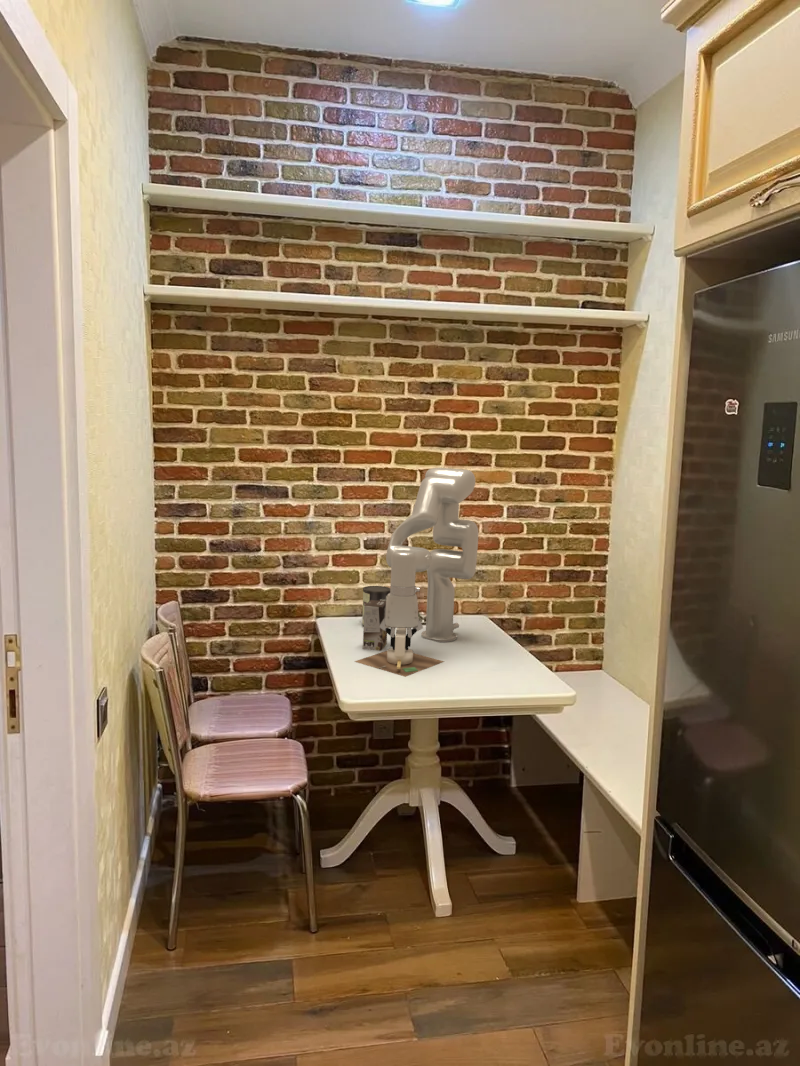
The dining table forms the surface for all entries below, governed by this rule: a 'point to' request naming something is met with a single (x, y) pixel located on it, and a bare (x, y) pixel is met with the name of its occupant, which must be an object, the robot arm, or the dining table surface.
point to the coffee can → (374, 595)
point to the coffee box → (374, 626)
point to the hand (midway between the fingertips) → (400, 648)
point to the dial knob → (400, 650)
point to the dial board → (405, 670)
